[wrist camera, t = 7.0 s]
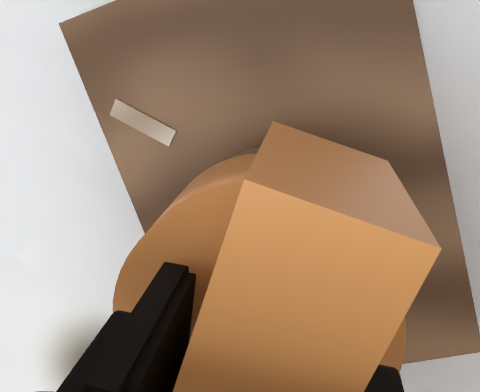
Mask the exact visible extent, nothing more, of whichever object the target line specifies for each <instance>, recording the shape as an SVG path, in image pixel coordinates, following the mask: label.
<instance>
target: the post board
mask: <svg viewBox="0 0 480 392" xmlns="http://www.w3.org/2000/svg"><path fill="white" fill-rule="evenodd" d="M59 25H60V28H61V30H62V33H63V35H64V38H65V40H66V42H67V45H68V47H69V50H70V52H71V55H72V57H73V59H74V62H75V64H76V67H77V69H78V72H79V74H80V77H81V79H82V81H83V84H84V86H85V89H86V91H87V94H88V96H89V98H90V101H91V103H92V106H93V108H94V111H95V113H96V116H97V118H98V120H99V123H100V125H101V128H102V130H103V133H104V135H105V137H106V140H107V142H108V145H109V147H110V150H111V152H112V154H113V157H114V159H115V162H116V164H117V167H118V169H119V172H120V174H121V176H122V179H123V181H124V184H125V186H126V189H127V191H128V193H129V196H130V198H131V201H132V203H133V206H134V208H135V210H136V213H137V215H138V218H139V220H140V223H141V225H142V228H143V230H144V232H145V234H146V232H147V231H148V230H149V229H150V228H151V227H152V225H153V224H154V223H155V222H156V221H157V220H158V219H159V217H160V216H161V215H162V214H163V213H164V212H165V210H166V209H167V208H168V207H169V206H170V205H171V204H172V202H173V201H174V200H175V199H176V198H177V197H178V195H179V194H180V193H181V192H182V191H183V190H184V188H185V187H186V186H187V185H188V184H189V183H190V182H191V181H192V180H193V179H194V178H196V177H197V176H198V175H200V174H201V173H202V172H204V171H205V170H207V169H209V168H210V167H212V166H214V165H216V164H217V163H220V162H222V161H225V160H228V159H230V158H234V157H238V156H242V155H246V154H255V153H257V152H258V150H259V148H260V146H261V144H262V142H263V140H264V138H265V136H266V134H267V132H268V130H269V128H270V126H271V124H272V122H273V121H274V122H277V123H280V124H283V125H286V126H289V127H292V128H295V129H298V130H300V131H303V132H306V133H309V134H312V135H315V136H318V137H321V138H324V139H326V140H329V141H332V142H335V143H338V144H341V145H344V146H347V147H350V148H352V149H355V150H358V151H361V152H364V153H367V154H370V155H373V156H376V157H378V158H381V159H384V160H387V161H388V162H389V163H390V165H391V167H392V168H393V170H394V172H395V173H396V175H397V177H398V178H399V180H400V181H401V183H402V185H403V186H404V188H405V190H406V191H407V193H408V195H409V196H410V198H411V199H412V201H413V203H414V204H415V206H416V208H417V209H418V211H419V212H420V214H421V216H422V217H423V219H424V221H425V222H426V224H427V226H428V227H429V229H430V230H431V232H432V234H433V235H434V237H435V239H436V240H437V242H438V244H439V245H440V247H441V248H442V249H441V251H440V253H439V255H438V256H437V258H436V260H435V262H434V264H433V266H432V267H431V269H430V271H429V273H428V275H427V277H426V279H425V280H424V282H423V284H422V286H421V288H420V290H419V291H418V293H417V295H416V297H415V299H414V301H413V302H412V304H411V306H410V308H409V310H408V312H407V313H406V315H405V321H406V347H405V355H404V359H403V363H402V364H405V363H412V362H418V361H425V360H431V359H438V358H444V357H451V356H457V355H464V354H470V353H477V352H480V333H479V328H478V323H477V318H476V313H475V308H474V303H473V298H472V293H471V288H470V283H469V278H468V273H467V268H466V263H465V258H464V253H463V248H462V243H461V238H460V234H459V229H458V224H457V219H456V214H455V209H454V204H453V199H452V194H451V189H450V184H449V179H448V174H447V169H446V164H445V159H444V154H443V149H442V144H441V139H440V134H439V129H438V124H437V119H436V114H435V109H434V104H433V99H432V94H431V89H430V84H429V79H428V74H427V69H426V64H425V59H424V54H423V49H422V44H421V39H420V34H419V29H418V24H417V19H416V14H415V9H414V4H413V0H116V1H113V2H111V3H108V4H106V5H104V6H101V7H99V8H96V9H94V10H91V11H89V12H86V13H84V14H81V15H79V16H76V17H74V18H71V19H69V20H66V21H64V22H61V23H59Z"/></svg>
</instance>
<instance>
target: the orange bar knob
mask: <svg viewBox="0 0 480 392" xmlns="http://www.w3.org/2000/svg"><path fill="white" fill-rule="evenodd" d="M441 249H442V248H441V247H440V245H439V244H438V242H437V240H436V239H435V237H434V235H433V234H432V232H431V230H430V229H429V227H428V226H427V224H426V222H425V221H424V219H423V217H422V216H421V214H420V212H419V211H418V209H417V208H416V206H415V204H414V203H413V201H412V199H411V198H410V196H409V195H408V193H407V191H406V190H405V188H404V186H403V185H402V183H401V181H400V180H399V178H398V177H397V175H396V173H395V172H394V170H393V168H392V167H391V165H390V163H389V162H388V161H387V160H384V159H381V158H378V157H376V156H373V155H370V154H367V153H364V152H361V151H358V150H355V149H352V148H350V147H347V146H344V145H341V144H338V143H335V142H332V141H329V140H326V139H324V138H321V137H318V136H315V135H312V134H309V133H306V132H303V131H300V130H298V129H295V128H292V127H289V126H286V125H283V124H280V123H277V122H274V121H273V122H272V124H271V126H270V128H269V130H268V132H267V134H266V136H265V138H264V140H263V142H262V144H261V146H260V148H259V150H258V152H257V153H255V154H246V155H242V156H238V157H234V158H230V159H228V160H225V161H222V162H220V163H217V164H216V165H214V166H212V167H210V168H209V169H207V170H205V171H204V172H202V173H201V174H200V175H198V176H197V177H196V178H194V179H193V180H192V181H191V182H190V183H189V184H188V185H187V186H186V187H185V188H184V190H183V191H182V192H181V193H180V194H179V195H178V197H177V198H176V199H175V200H174V201H173V202H172V204H171V205H170V206H169V207H168V208H167V209H166V210H165V212H164V213H163V214H162V215H161V216H160V217H159V219H158V220H157V221H156V222H155V223H154V224H153V225H152V227H151V228H150V229H149V230H148V231H147V232H146V234H145V235H144V236H143V237H142V238H141V239H140V240H139V242H138V243H137V244H136V246H135V247H134V248H133V250H132V251H131V253H130V254H129V255H128V257H127V259H126V261H125V263H124V265H123V267H122V269H121V271H120V274H119V277H118V280H117V283H116V286H115V292H114V298H113V313H114V312H115V311H117V310H121V311H126V312H132V310H133V309H134V307H135V305H136V304H137V302H138V301H139V299H140V298H141V296H142V295H143V293H144V292H145V290H146V289H147V287H148V286H149V284H150V283H151V281H152V280H153V278H154V277H155V275H156V274H157V272H158V271H159V269H160V268H161V266H162V264H163V263H164V262H170V263H175V264H181V265H186V266H188V267H189V273H194V274H196V284H195V293H194V302H193V311H192V319H191V328H190V337H189V345H188V348H187V351H186V354H185V357H184V360H183V363H182V366H181V369H180V371H179V374H178V377H177V380H176V383H175V386H174V389H173V392H364V391H365V389H366V387H367V385H368V383H369V381H370V380H371V378H372V376H373V374H374V372H375V370H376V369H377V367H378V365H379V364H380V365H385V366H389V367H394V368H396V369H397V370H398V372H399V373H400V370H401V366H402V363H403V359H404V355H405V347H406V321H405V315H406V313H407V312H408V310H409V308H410V306H411V304H412V302H413V301H414V299H415V297H416V295H417V293H418V291H419V290H420V288H421V286H422V284H423V282H424V280H425V279H426V277H427V275H428V273H429V271H430V269H431V267H432V266H433V264H434V262H435V260H436V258H437V256H438V255H439V253H440V251H441Z"/></svg>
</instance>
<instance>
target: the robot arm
mask: <svg viewBox="0 0 480 392" xmlns="http://www.w3.org/2000/svg"><path fill="white" fill-rule="evenodd" d="M195 284H196V274H194V273H189V267H188V266H186V265H181V264H175V263H170V262H164V263H163V264H162V266H161V268H160V269H159V271H158V272H157V274H156V275H155V277H154V278H153V280H152V281H151V283H150V284H149V286H148V287H147V289H146V290H145V292H144V293H143V295H142V296H141V298H140V299H139V301H138V302H137V304H136V305H135V307H134V309H133V310H132V312H126V311H121V310H117V311H115V312H114V313H113V314H112V315H111V316H110V318H109V319H108V321H107V322H106V323H105V325H104V326H103V328H102V329H101V330H100V332H99V333H98V334H97V336H96V337H95V339H94V340H93V341H92V343H91V344H90V346H89V347H88V348H87V350H86V351H85V352H84V354H83V355H82V357H81V358H80V359H79V361H78V362H77V364H76V365H75V366H74V368H73V369H72V371H71V372H70V373H69V375H68V376H67V377H66V379H65V380H64V382H63V383H62V384H61V386H60V387H59V389H58V390H57V391H56V392H173V389H174V386H175V383H176V380H177V377H178V374H179V371H180V369H181V366H182V363H183V360H184V357H185V354H186V351H187V348H188V345H189V337H190V328H191V319H192V311H193V302H194V293H195ZM37 392H53V391H37ZM364 392H404V389H403V386H402V382H401V378H400V374H399V372H398V370H397V369H396V368H394V367H389V366H385V365H380V364H379V365H378V367H377V369H376V370H375V372H374V374H373V376H372V378H371V380H370V381H369V383H368V385H367V387H366V389H365V391H364Z"/></svg>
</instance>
